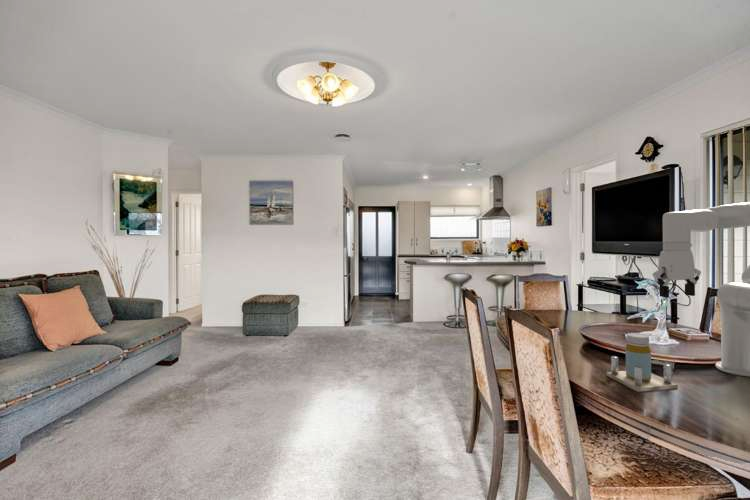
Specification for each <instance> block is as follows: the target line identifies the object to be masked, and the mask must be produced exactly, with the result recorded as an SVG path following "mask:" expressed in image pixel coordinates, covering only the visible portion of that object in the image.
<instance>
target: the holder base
mask: <svg viewBox="0 0 750 500" xmlns="http://www.w3.org/2000/svg"><path fill="white" fill-rule="evenodd" d="M606 376H607V377H609V378H610V379H613V380H614V381H616V382H618V383H620V384H622V385H624V386H626V387H628V388H630V389H631V390H634V391H635V392H637V393H639V392H651V391H662V390H673V389H678V387H679V386H678V384H676V383H674V382H673V381H671V382H672V384H666V383H664V377H661V376H659V375H658V374H654V373H651V379H650V380H649V381H647V382H642V387H638V386H635V380H632V379H629V378H628V377H627V376H626V370H618V375H614V374H612V371H606Z"/></svg>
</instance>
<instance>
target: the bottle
mask: <svg viewBox="0 0 750 500" xmlns="http://www.w3.org/2000/svg"><path fill="white" fill-rule="evenodd" d="M625 345H626V346H625V371H626V376H627V377H628V378H629V379H632V380H635V374H634V367H635V366H638V367H641V368H642V382H647V381H649V380H650V379H651V368H652V363H651V360H652V349H651V347H650V336H649V335H648V334H646V333H641V332H627V334H626V344H625Z"/></svg>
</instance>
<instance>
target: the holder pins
mask: <svg viewBox="0 0 750 500" xmlns="http://www.w3.org/2000/svg"><path fill="white" fill-rule="evenodd" d="M610 358H611V359H610V362H611V372H612V374H614V375H618V371H619V357H618V356H615V355H612V356H611V357H610ZM663 370H664V375H663V379H664V383H666V384H672V382H673V381H672V376H671V370H672V366H671V365H669V364H664V365H663ZM634 374H635V386H638V387H642V368H641V367H638V366H635V367H634Z"/></svg>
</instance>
